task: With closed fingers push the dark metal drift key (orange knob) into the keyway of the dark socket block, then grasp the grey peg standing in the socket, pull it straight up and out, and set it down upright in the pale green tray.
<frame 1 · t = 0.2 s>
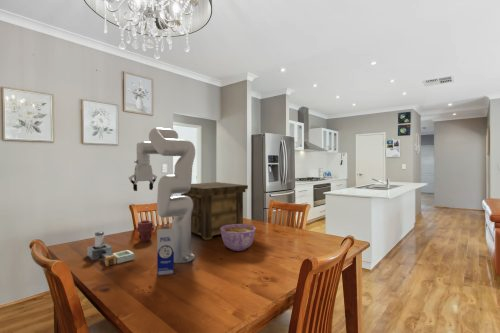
hand: (143, 190, 165), 31 cm above the table, fingers open, 9 cm apart
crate: (211, 232, 184), on the table
socket block: (99, 255, 138), on the table
bowl of food: (238, 248, 150), on the table
pale green tray: (123, 259, 133), on the table
dark red pot: (145, 240, 164), on the table
milk carton: (165, 272, 118), on the table
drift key: (107, 258, 128), point 2 cm above the table, slide at 0.0 cm
grey peg: (99, 244, 138), in the socket block
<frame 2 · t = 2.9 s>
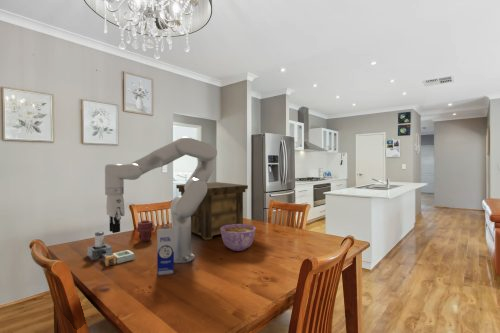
hand: (114, 231, 121), 17 cm above the table, fingers closed
nothing on the table moved.
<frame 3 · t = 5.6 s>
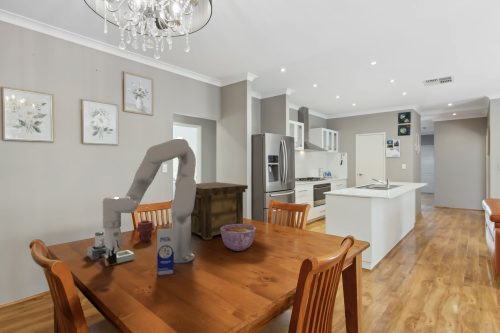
hand: (112, 263, 123), 2 cm above the table, fingers closed
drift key: (107, 258, 129), point 2 cm above the table, slide at 0.1 cm, touching gripper
everything else where it was.
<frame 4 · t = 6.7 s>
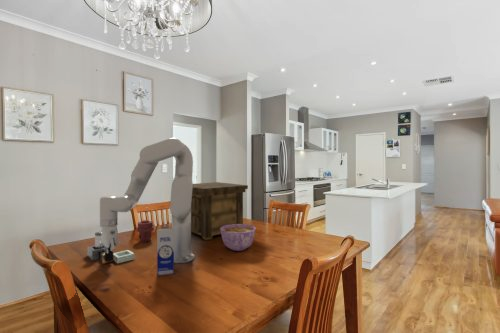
hand: (109, 260, 127), 2 cm above the table, fingers closed
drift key: (104, 255, 132), point 2 cm above the table, slide at 4.6 cm, touching gripper
everything else where it was.
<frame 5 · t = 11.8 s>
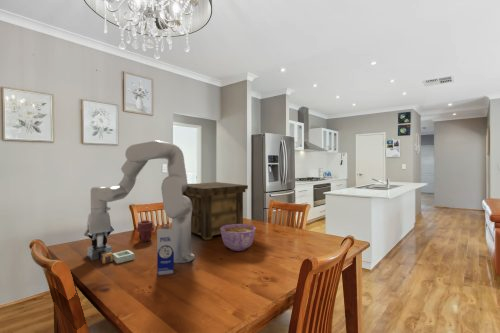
hand: (99, 245, 138), 5 cm above the table, fingers closed on grey peg, 4 cm apart
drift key: (104, 255, 132), point 2 cm above the table, slide at 4.6 cm
grey peg: (99, 244, 138), in the socket block, touching gripper
everything else where it was.
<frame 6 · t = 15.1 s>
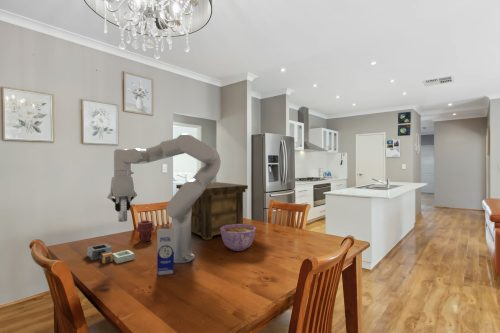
hand: (122, 210, 133), 25 cm above the table, fingers closed on grey peg, 4 cm apart
grey peg: (122, 208, 133), point 25 cm above the table, touching gripper
everything else where it was.
when the fingers open (8 cm above the table, at t = 18.4 s): grey peg drops 1 cm, resting on pale green tray.
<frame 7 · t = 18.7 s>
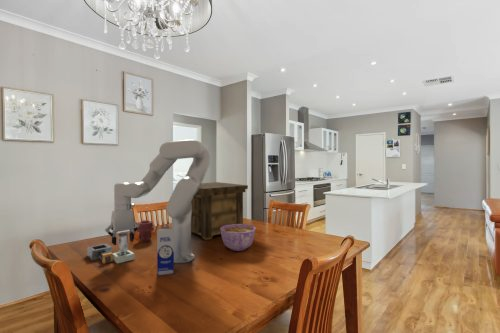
hand: (123, 242, 133), 8 cm above the table, fingers open, 7 cm apart
grey peg: (123, 245, 133), in the pale green tray, point 7 cm above the table
everything else where it was.
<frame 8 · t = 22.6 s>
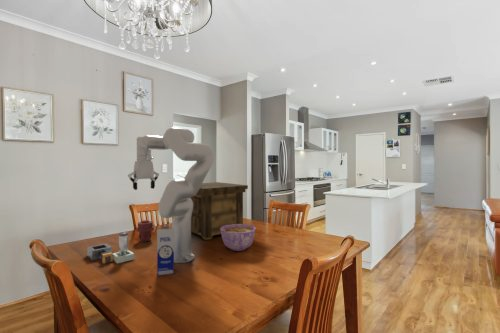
hand: (144, 189, 150), 33 cm above the table, fingers open, 9 cm apart
nothing on the table moved.
at the end: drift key slide at 4.6 cm; grey peg 0.0 cm off-centre on the pale green tray, point 7.0 cm above the pale green tray's base; grey peg tilted 1° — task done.
